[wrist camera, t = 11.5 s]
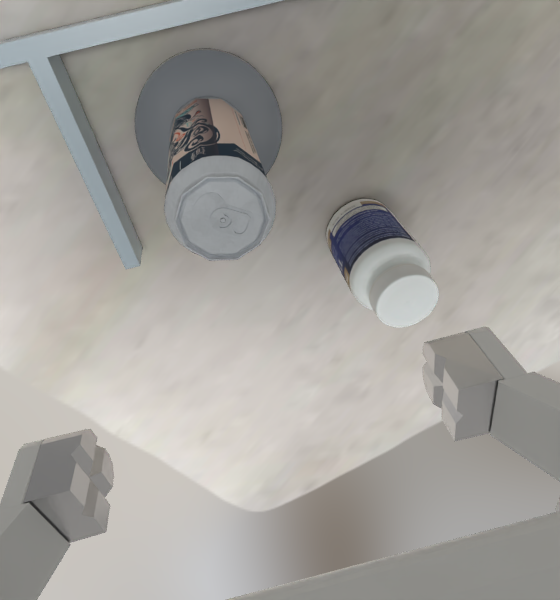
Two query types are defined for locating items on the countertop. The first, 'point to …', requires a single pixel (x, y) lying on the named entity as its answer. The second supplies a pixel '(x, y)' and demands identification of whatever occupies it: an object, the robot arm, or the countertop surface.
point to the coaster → (205, 83)
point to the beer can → (216, 182)
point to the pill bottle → (382, 263)
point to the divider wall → (66, 106)
